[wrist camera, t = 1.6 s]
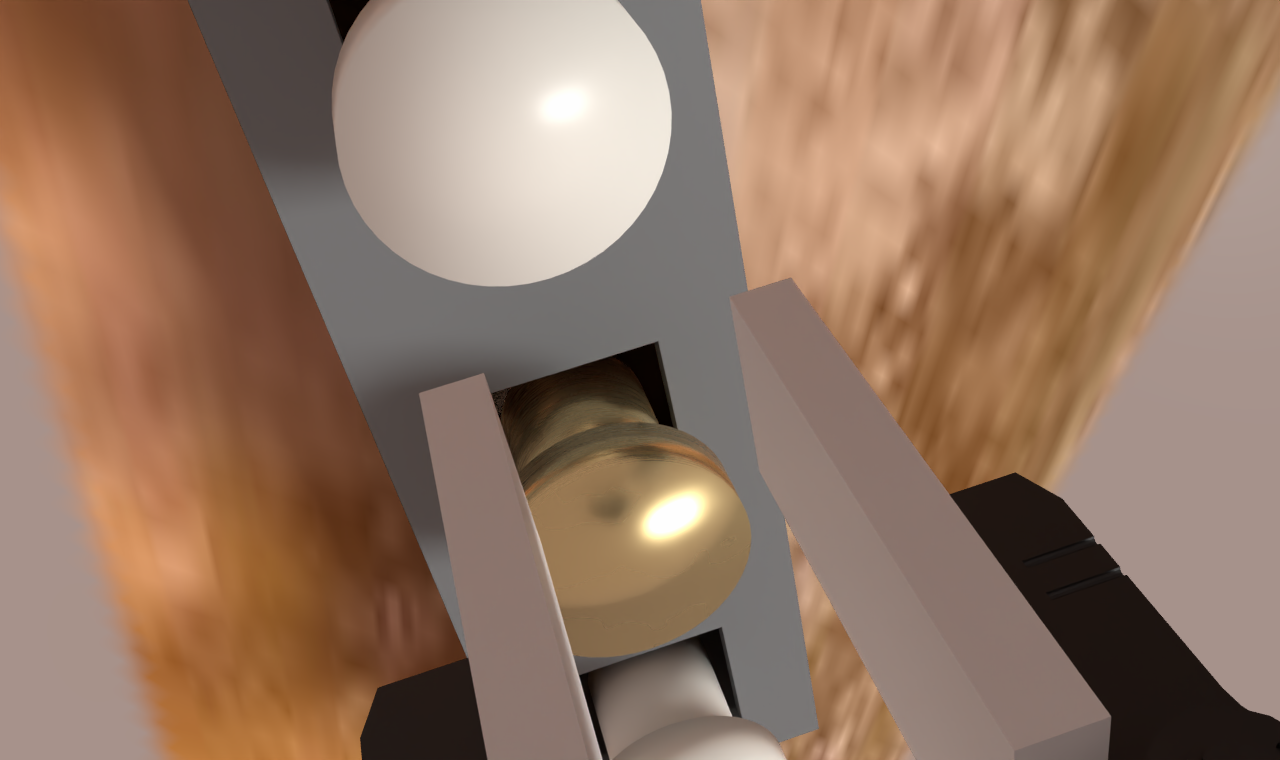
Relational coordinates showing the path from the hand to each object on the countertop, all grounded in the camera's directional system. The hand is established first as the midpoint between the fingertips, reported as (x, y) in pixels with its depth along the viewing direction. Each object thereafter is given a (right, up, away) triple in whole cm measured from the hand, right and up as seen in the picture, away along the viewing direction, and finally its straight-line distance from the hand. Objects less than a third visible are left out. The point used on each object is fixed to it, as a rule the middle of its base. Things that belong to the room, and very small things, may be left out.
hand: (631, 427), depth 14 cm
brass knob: (-2, 0, +19) cm, 19 cm away
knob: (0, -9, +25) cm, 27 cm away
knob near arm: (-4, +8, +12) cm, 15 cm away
